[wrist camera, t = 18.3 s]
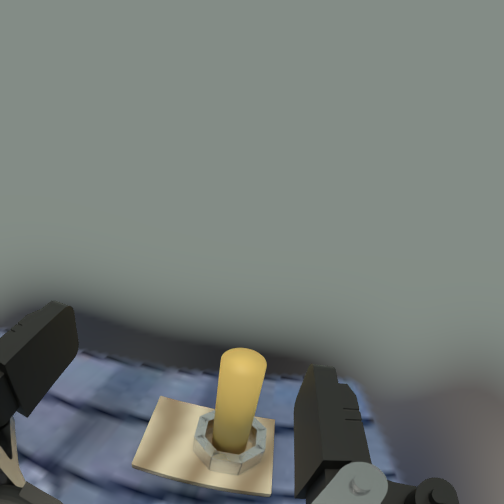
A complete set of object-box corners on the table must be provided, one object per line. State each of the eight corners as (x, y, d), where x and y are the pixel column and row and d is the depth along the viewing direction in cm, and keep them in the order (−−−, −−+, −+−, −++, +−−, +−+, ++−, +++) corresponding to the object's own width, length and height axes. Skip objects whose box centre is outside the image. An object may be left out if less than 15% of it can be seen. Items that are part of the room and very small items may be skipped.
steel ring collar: (188, 465, 30) (189, 452, 29) (201, 417, 38) (203, 402, 37) (258, 478, 30) (264, 466, 29) (262, 429, 38) (267, 414, 37)
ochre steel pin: (208, 458, 32) (217, 373, 26) (213, 433, 36) (224, 344, 31) (243, 463, 32) (266, 380, 26) (246, 437, 36) (267, 351, 31)
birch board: (132, 467, 29) (131, 464, 28) (160, 400, 41) (160, 395, 40) (269, 497, 28) (270, 494, 28) (273, 423, 41) (274, 419, 40)
